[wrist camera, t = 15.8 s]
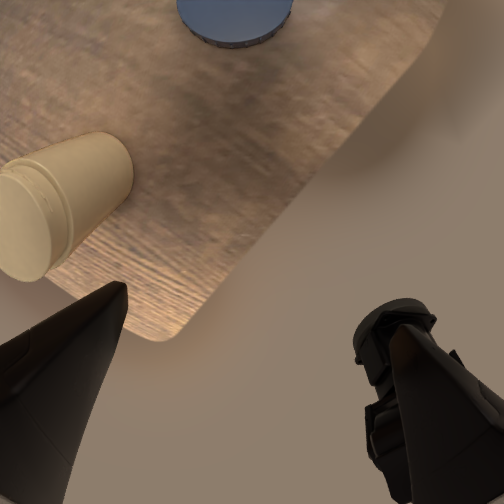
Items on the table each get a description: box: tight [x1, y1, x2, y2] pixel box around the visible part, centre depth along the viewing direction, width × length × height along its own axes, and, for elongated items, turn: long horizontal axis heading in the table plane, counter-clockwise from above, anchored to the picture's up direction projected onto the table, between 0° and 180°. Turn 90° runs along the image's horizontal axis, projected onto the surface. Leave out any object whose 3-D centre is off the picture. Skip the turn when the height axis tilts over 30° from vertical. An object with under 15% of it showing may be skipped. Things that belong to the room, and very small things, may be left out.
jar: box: [0, 132, 134, 282], centre depth 15 cm, size 6×6×10 cm
